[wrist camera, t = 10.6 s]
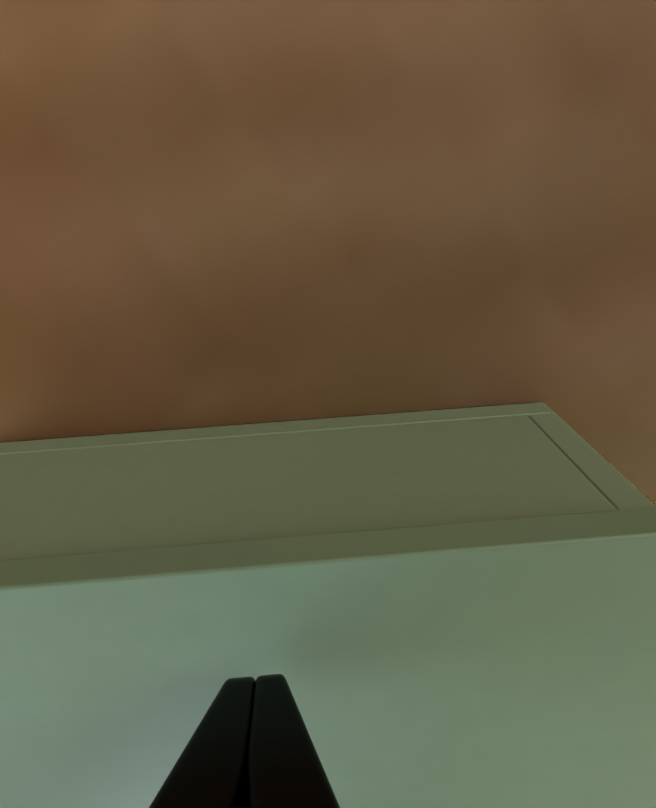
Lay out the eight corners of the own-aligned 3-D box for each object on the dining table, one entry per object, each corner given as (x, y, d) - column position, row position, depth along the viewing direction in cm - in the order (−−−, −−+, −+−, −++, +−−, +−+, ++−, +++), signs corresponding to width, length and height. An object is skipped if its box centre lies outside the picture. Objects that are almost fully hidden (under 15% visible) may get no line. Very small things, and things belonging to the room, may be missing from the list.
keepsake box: (-20, 443, 14) (-204, 606, 9) (543, 401, 15) (686, 532, 9) (94, 808, 19) (20, 1050, 14) (510, 768, 20) (590, 988, 14)
